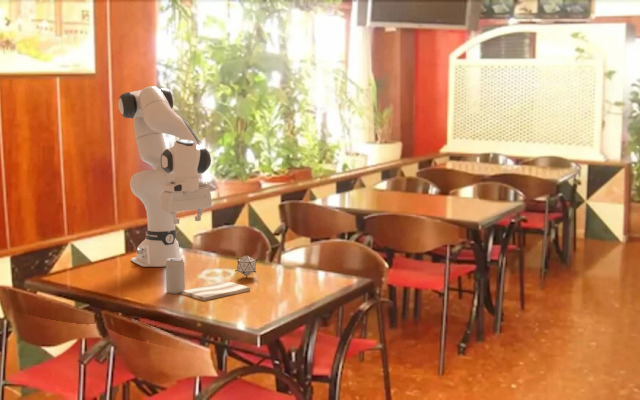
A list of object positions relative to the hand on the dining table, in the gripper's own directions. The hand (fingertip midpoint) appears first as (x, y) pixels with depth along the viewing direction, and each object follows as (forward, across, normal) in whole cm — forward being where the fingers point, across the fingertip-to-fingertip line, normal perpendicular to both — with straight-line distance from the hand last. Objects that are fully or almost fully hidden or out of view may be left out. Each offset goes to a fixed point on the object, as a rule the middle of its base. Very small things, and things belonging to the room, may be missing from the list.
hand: (187, 222), depth 279 cm
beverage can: (+23, +10, +7) cm, 26 cm away
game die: (+23, -21, +8) cm, 32 cm away
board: (+23, 0, +17) cm, 29 cm away
